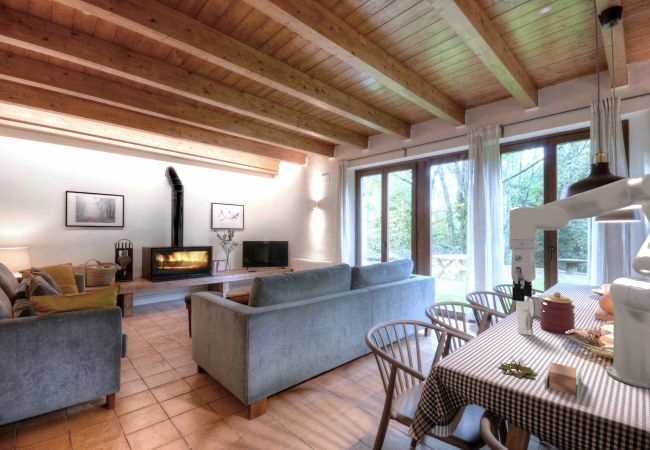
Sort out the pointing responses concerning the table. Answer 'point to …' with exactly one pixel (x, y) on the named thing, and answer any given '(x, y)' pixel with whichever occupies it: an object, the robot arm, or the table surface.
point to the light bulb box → (537, 304)
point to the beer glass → (525, 316)
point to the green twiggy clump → (518, 367)
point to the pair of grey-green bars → (577, 384)
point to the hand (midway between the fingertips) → (522, 298)
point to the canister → (557, 313)
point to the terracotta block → (562, 378)
